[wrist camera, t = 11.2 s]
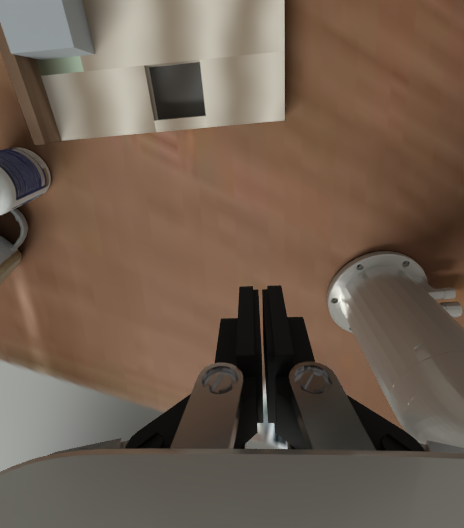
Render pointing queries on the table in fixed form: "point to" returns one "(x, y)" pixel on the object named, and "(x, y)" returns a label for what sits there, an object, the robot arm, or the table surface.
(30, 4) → the block
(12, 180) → the pill bottle
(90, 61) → the board
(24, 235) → the ceramic mug
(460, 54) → the table surface
